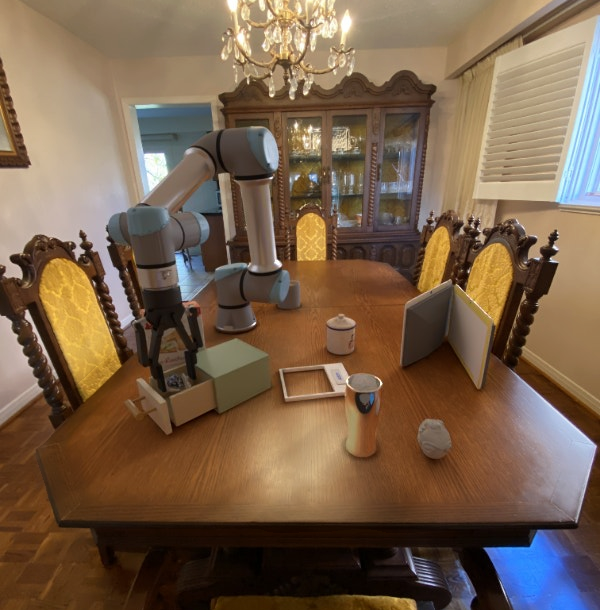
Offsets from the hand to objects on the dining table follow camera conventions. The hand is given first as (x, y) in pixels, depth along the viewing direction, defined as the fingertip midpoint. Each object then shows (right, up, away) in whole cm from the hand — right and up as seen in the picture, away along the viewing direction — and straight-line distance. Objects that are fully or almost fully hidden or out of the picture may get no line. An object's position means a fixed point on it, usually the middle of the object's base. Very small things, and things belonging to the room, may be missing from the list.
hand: (177, 383), depth 79 cm
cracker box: (-5, -2, +17) cm, 17 cm away
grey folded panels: (+67, +3, +24) cm, 72 cm away
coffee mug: (+21, +21, +72) cm, 78 cm away
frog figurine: (+53, -12, -12) cm, 56 cm away
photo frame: (+32, -2, +13) cm, 35 cm away
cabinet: (+10, -3, +11) cm, 15 cm away
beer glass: (+40, -11, -10) cm, 43 cm away
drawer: (-1, -7, +1) cm, 7 cm away
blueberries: (0, 0, 0) cm, 1 cm away
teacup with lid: (+41, +6, +32) cm, 53 cm away
